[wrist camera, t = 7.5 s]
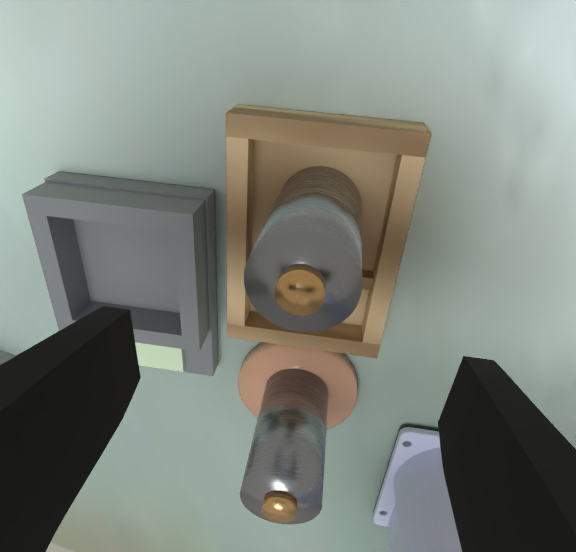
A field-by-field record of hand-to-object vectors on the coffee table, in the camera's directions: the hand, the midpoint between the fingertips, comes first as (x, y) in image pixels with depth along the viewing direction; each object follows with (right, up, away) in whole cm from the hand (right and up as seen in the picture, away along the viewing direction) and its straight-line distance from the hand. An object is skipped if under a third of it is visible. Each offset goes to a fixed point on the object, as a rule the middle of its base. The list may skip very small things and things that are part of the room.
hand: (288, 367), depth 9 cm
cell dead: (0, -4, +13) cm, 14 cm away
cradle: (-7, +2, +12) cm, 14 cm away
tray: (+1, +4, +9) cm, 10 cm away
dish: (+1, -4, +14) cm, 14 cm away
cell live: (+1, +5, +8) cm, 9 cm away
